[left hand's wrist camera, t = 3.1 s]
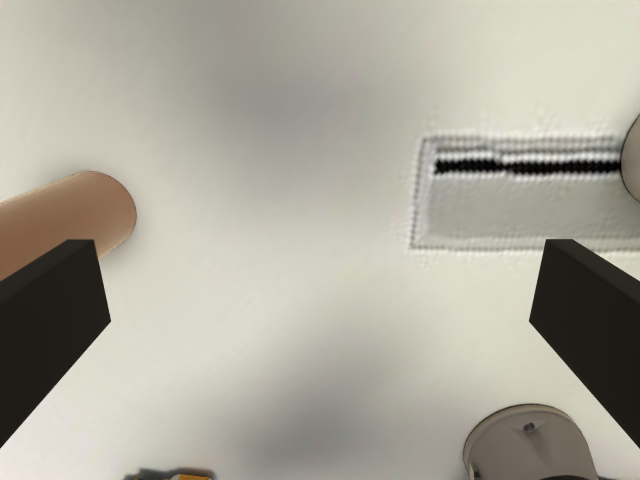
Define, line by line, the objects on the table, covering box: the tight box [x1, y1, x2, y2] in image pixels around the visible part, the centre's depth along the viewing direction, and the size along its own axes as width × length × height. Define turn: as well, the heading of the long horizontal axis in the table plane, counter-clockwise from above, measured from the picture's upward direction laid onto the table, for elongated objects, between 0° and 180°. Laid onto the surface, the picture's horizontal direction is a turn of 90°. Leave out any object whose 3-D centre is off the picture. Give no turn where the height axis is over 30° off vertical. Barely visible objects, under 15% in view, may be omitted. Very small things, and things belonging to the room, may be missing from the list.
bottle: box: [0, 171, 136, 281], centre depth 32 cm, size 8×8×24 cm
